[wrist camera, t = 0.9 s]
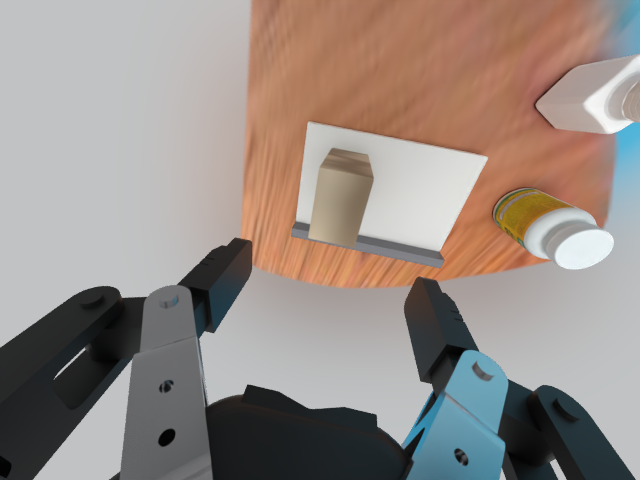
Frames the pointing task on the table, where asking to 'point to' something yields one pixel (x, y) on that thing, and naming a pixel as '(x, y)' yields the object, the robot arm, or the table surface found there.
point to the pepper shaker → (595, 97)
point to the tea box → (341, 197)
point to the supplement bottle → (552, 228)
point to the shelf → (395, 191)
